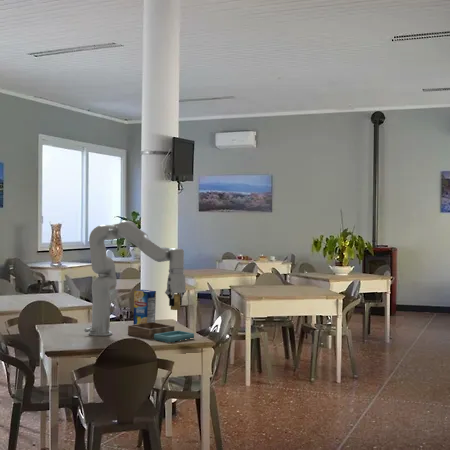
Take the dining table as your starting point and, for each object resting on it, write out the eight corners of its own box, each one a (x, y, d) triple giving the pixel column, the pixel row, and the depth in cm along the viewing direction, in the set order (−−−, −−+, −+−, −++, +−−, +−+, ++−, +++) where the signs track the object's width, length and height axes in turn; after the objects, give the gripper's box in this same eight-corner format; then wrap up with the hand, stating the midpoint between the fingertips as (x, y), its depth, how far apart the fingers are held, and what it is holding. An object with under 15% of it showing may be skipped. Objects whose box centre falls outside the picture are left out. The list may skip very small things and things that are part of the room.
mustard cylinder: (175, 310, 336) (175, 295, 336) (168, 309, 339) (169, 294, 339) (181, 309, 340) (182, 294, 340) (175, 308, 343) (175, 293, 343)
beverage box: (146, 330, 367) (147, 291, 367) (133, 327, 373) (134, 290, 373) (154, 328, 372) (156, 291, 372) (141, 326, 379) (142, 289, 379)
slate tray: (170, 343, 329) (170, 337, 329) (154, 339, 337) (154, 334, 337) (193, 338, 343) (194, 333, 343) (178, 335, 350) (178, 330, 350)
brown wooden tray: (150, 338, 339) (150, 329, 339) (127, 334, 350) (128, 325, 350) (174, 335, 352) (174, 326, 352) (151, 330, 364) (152, 322, 364)
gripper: (169, 272, 331) (168, 307, 331) (192, 271, 344) (191, 305, 344) (159, 271, 336) (158, 306, 336) (182, 270, 349) (181, 303, 349)
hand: (175, 305), depth 340 cm, fingers closed on mustard cylinder, 5 cm apart
